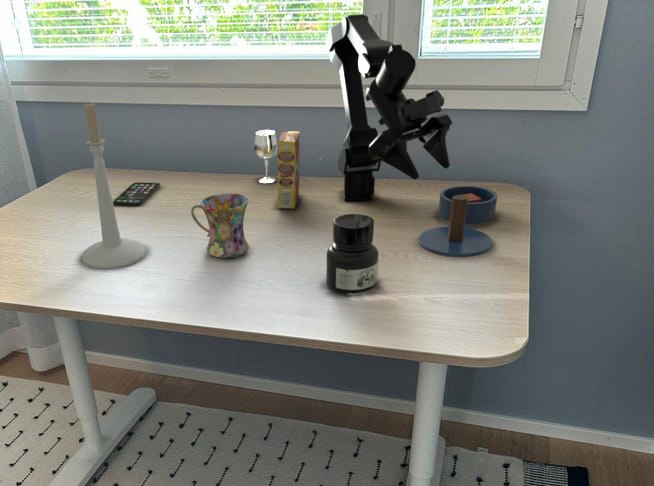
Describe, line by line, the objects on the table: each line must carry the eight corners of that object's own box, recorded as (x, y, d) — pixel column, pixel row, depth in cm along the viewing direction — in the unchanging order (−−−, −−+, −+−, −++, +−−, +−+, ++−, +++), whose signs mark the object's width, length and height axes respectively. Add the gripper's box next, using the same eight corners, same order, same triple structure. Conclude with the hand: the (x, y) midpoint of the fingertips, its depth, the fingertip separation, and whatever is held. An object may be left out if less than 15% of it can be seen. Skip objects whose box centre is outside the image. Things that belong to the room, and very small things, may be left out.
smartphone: (111, 202, 165) (134, 182, 177) (112, 205, 165) (134, 184, 177) (140, 203, 163) (161, 182, 175) (140, 206, 164) (161, 185, 176)
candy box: (296, 209, 156) (295, 141, 148) (277, 209, 157) (275, 141, 149) (300, 196, 163) (300, 130, 155) (282, 196, 164) (281, 131, 156)
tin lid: (423, 260, 129) (428, 211, 124) (414, 232, 141) (418, 186, 136) (499, 259, 128) (507, 209, 123) (483, 231, 139) (489, 184, 134)
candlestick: (147, 264, 135) (125, 105, 119) (81, 272, 133) (50, 112, 117) (144, 240, 145) (123, 91, 129) (83, 247, 144) (55, 97, 128)
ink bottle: (340, 301, 117) (342, 235, 111) (315, 281, 124) (315, 218, 118) (388, 288, 120) (392, 223, 114) (361, 269, 127) (364, 207, 121)
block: (462, 219, 144) (464, 201, 142) (452, 213, 147) (454, 195, 145) (479, 217, 145) (481, 198, 143) (469, 211, 148) (471, 193, 146)
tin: (443, 227, 142) (445, 204, 139) (434, 208, 152) (436, 186, 149) (499, 226, 141) (503, 203, 138) (487, 207, 151) (490, 184, 148)
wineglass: (279, 176, 177) (277, 129, 171) (277, 183, 172) (276, 135, 166) (256, 177, 178) (254, 130, 171) (255, 184, 173) (252, 136, 167)
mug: (257, 245, 139) (255, 195, 134) (240, 264, 132) (237, 211, 127) (204, 239, 144) (200, 190, 138) (185, 257, 136) (179, 206, 131)
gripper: (383, 85, 122) (427, 159, 120) (449, 69, 131) (491, 137, 130) (350, 124, 132) (390, 193, 130) (413, 107, 141) (452, 170, 139)
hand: (432, 172), depth 132 cm, fingers open, 9 cm apart
